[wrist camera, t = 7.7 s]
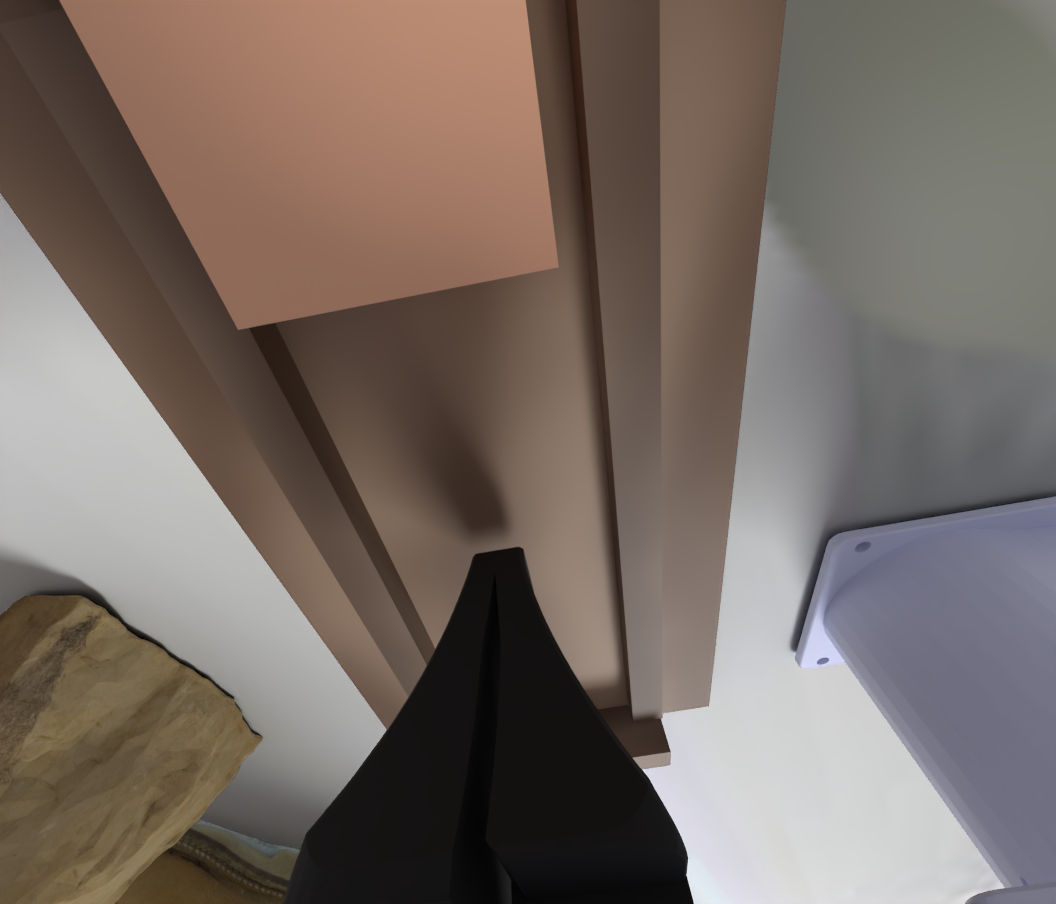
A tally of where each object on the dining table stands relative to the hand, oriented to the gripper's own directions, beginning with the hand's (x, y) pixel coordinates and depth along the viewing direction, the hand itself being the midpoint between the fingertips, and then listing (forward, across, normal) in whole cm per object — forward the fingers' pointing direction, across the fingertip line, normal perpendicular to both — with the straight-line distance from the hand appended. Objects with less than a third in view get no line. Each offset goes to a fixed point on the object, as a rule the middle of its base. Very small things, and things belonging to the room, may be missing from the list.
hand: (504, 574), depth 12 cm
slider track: (+2, 0, -1) cm, 2 cm away
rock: (+2, +15, +5) cm, 16 cm away
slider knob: (+1, 0, -10) cm, 10 cm away
